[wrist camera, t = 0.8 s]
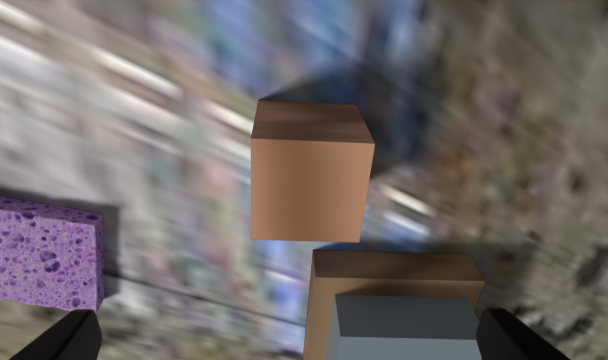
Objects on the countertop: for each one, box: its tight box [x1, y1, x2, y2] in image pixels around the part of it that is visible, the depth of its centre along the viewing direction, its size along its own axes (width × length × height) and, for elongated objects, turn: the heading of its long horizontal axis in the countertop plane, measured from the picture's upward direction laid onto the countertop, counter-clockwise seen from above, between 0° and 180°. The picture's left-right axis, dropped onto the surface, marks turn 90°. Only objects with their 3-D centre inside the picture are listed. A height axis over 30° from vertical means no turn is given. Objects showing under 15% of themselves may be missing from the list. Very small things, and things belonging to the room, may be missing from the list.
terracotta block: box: [251, 100, 375, 242], centre depth 19 cm, size 5×5×5 cm
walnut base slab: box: [303, 250, 486, 360], centre depth 27 cm, size 10×10×3 cm
